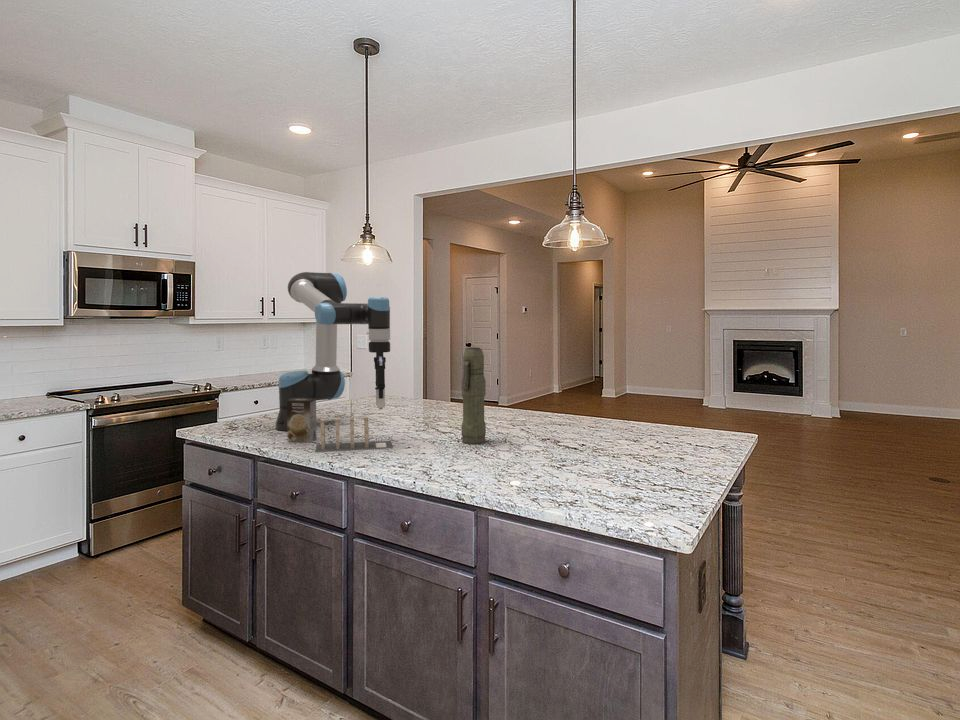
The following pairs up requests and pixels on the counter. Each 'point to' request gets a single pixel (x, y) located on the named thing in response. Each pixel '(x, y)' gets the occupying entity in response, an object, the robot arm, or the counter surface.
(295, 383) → the robot arm
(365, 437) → the domino
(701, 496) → the counter surface
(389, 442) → the mat
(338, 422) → the domino
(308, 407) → the coffee box
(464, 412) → the thermos
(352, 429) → the domino
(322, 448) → the domino
